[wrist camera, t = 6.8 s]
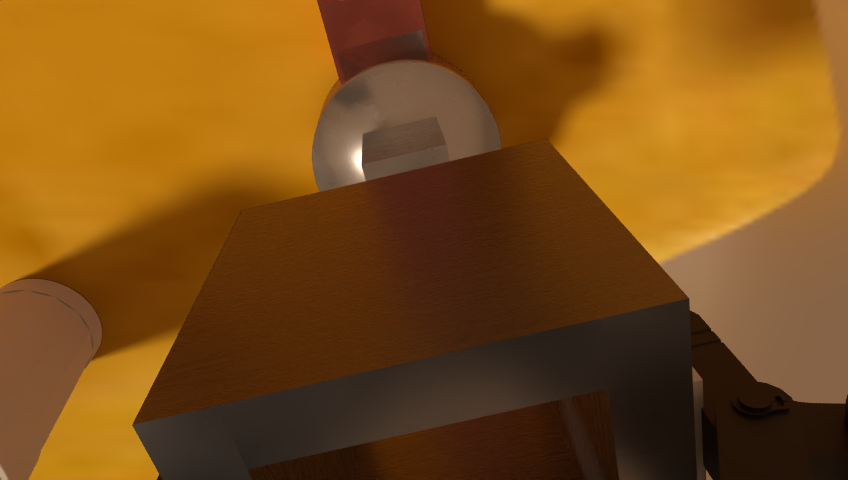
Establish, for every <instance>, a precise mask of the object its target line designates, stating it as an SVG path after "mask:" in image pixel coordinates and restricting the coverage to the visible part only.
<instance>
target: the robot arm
mask: <svg viewBox="0 0 848 480" xmlns="http://www.w3.org/2000/svg"><path fill="white" fill-rule="evenodd" d="M690 330H691V352H692V374H693V397H694V419H695V441H696V464H697V480H706V470H707V471H708V473H709V475H710V476H711V478H712V479H713V480H848V395H847V399H846V404H829V403H828V404H827V403H826V404H825V403H805V402H797V401H793V400H792V398H791V397H790V396H789V395H787V394H786V393H785V392H784V391H783V390H781V389H779V388H777V387H775V386H772V385H770V384H767V383H762V382H757V381H756V380H755V379H754V377H753V376H752V375H751V374H750V373H749V372H748V370H747V369H746V368H745V367H744V366H743V365H742V364H741V362H740V361H739V360H738V359H737V358H736V357H735V356H734V354H733V353H732V352H731V351H730V350H729V349H728V348H727V347H726V346H725V344H724V343H721V340H720V339H719V338H718V336H717V335H716V334H715V333H714V332H712V331H711V328H710V327H709V326H708V325H707V324H706V323H705V321H704V320H703V319H702V318H701V317H700V316H699V315H698V314H696V313H694V312H692V311H690ZM157 480H162V478H161V476H160V474H159V476H158V479H157Z"/></svg>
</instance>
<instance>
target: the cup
mask: <svg viewBox="0 0 848 480" xmlns="http://www.w3.org/2000/svg"><path fill="white" fill-rule="evenodd" d="M101 340H102V327H101V323H100V320H99V317H98V315H97V313H96V312H95V310H94V308H93V307H92V306H91V305H90V303H89V302H88V301H87V300H86V299H85V298H83V297H82V296H81V295H80V294H78V293H77V292H75V291H74V290H72V289H70V288H69V287H66V286H64V285H62V284H59V283H56V282H53V281H49V280H43V279H23V280H18V281H14V282H11V283H9V284H7V285H5V286H3V287H2V288H0V480H28V479H29V477H30V475H31V473H32V471H33V469H34V467H35V465H36V463H37V461H38V459H39V456H40V452H41V449H42V448H43V446H44V444H45V442H46V440H47V438H48V436H49V434H50V432H51V431H52V429H53V427H54V425H55V423H56V421H57V419H58V417H59V416H60V414H61V412H62V410H63V408H64V406H65V404H66V402H67V401H68V399H69V397H70V395H71V393H72V391H73V389H74V387H75V385H76V384H77V382H78V380H79V378H80V376H81V374H82V372H83V370H84V369H85V368H86V367H87V365H88V364H89V362H90V361H91V359H92V358H93V356H94V355H95V353H96V352H97V350H98V349H99V346H100V344H101Z"/></svg>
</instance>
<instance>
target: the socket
mask: <svg viewBox="0 0 848 480" xmlns="http://www.w3.org/2000/svg"><path fill="white" fill-rule="evenodd" d="M689 309H690V308H689V298H688V297H687V296H686V294H685V293H684V292H683V291H682V290H681V289H680V288H679V287H678V285H677V284H676V283H675V282H674V281H673V280H672V279H671V278H670V276H669V275H668V274H667V273H666V272H665V271H664V270H663V269H662V267H661V266H660V265H659V264H658V263H657V262H656V261H655V260H654V259H653V257H652V256H651V255H650V254H649V253H648V252H647V251H646V250H645V248H644V247H643V246H642V245H641V244H640V243H639V242H638V241H637V240H636V238H635V237H634V236H633V235H632V234H631V233H630V232H629V231H628V229H627V228H626V227H625V226H624V225H623V224H622V223H621V222H620V221H619V219H618V218H617V217H616V216H615V215H614V214H613V213H612V212H611V210H610V209H609V208H608V207H607V206H606V205H605V204H604V203H603V202H602V200H601V199H600V198H599V197H598V196H597V195H596V194H595V193H594V191H593V190H592V189H591V188H590V187H589V186H588V185H587V184H586V183H585V181H584V180H583V179H582V178H581V177H580V176H579V175H578V174H577V172H576V171H575V170H574V169H573V168H572V167H571V166H570V165H569V164H568V162H567V161H566V160H565V159H564V158H563V157H562V156H561V155H560V153H559V152H558V151H557V150H556V149H555V148H554V147H553V146H552V145H551V143H550V142H549V141H548V140H547V139H542V140H537V141H533V142H529V143H525V144H521V145H516V146H512V147H508V148H504V149H499V150H495V151H491V152H487V153H483V154H478V155H474V156H470V157H466V158H461V159H457V160H453V161H449V162H445V163H440V164H436V165H432V166H428V167H423V168H419V169H415V170H411V171H406V172H402V173H398V174H394V175H390V176H385V177H381V178H377V179H373V180H368V181H364V182H360V183H356V184H352V185H347V186H343V187H339V188H335V189H330V190H326V191H322V192H318V193H314V194H309V195H305V196H301V197H297V198H292V199H288V200H284V201H280V202H276V203H271V204H267V205H263V206H259V207H254V208H250V209H246V210H242V211H241V212H240V214H239V216H238V218H237V220H236V222H235V224H234V226H233V228H232V230H231V232H230V234H229V236H228V238H227V240H226V241H225V243H224V245H223V247H222V249H221V251H220V253H219V255H218V257H217V259H216V261H215V263H214V265H213V267H212V269H211V271H210V273H209V275H208V277H207V279H206V281H205V283H204V285H203V287H202V289H201V291H200V293H199V295H198V297H197V299H196V301H195V302H194V304H193V306H192V308H191V310H190V312H189V314H188V316H187V318H186V320H185V322H184V324H183V326H182V328H181V330H180V332H179V334H178V336H177V338H176V340H175V342H174V344H173V346H172V348H171V350H170V352H169V354H168V356H167V358H166V360H165V362H164V363H163V365H162V367H161V369H160V371H159V373H158V375H157V377H156V379H155V381H154V383H153V385H152V387H151V389H150V391H149V393H148V395H147V397H146V399H145V401H144V403H143V405H142V407H141V409H140V411H139V413H138V415H137V417H136V419H135V421H134V423H133V424H132V425H133V427H134V429H135V431H136V433H137V434H138V436H139V438H140V440H141V442H142V443H143V445H144V447H145V449H146V451H147V452H148V454H149V456H150V458H151V460H152V461H153V463H154V465H155V467H156V469H157V471H158V472H159V474H160V476H161V478H162V480H697V464H696V441H695V419H694V397H693V374H692V352H691V330H690V310H689Z"/></svg>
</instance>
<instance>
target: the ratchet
mask: <svg viewBox="0 0 848 480" xmlns="http://www.w3.org/2000/svg"><path fill="white" fill-rule="evenodd" d="M317 2H318V5H319V9H320V12H321V16H322V19H323V23H324V27H325V30H326V34H327V37H328V41H329V44H330V48H331V51H332V55H333V59H334V62H335V66H336V69H337V73H338V76H339V80H338V81H337V82H336V83H335V84H334V86H333V87H332V89H331V90H330V92H329V94H328V96H327V98H326V100H325V102H324V105H323V108H322V111H321V115H320V118H319V121H318V125H317V128H316V132H315V135H314V141H313V147H312V162H313V171H314V175H315V179H316V183H317V185H318V188H319V191H320V192H322V191H326V190H330V189H335V188H339V187H343V186H347V185H352V184H356V183H360V182H364V181H368V180H373V179H377V178H381V177H385V176H390V175H394V174H398V173H402V172H406V171H411V170H415V169H419V168H423V167H428V166H432V165H436V164H440V163H445V162H449V161H453V160H457V159H461V158H466V157H470V156H474V155H478V154H483V153H487V152H491V151H495V150H499V149H502V148H501V139H500V134H499V130H498V126H497V124H496V121H495V119H494V116H493V114H492V112H491V111H490V109H489V107H488V105H487V104H486V102H485V101H484V100H483V98H482V97H481V96H480V94H479V93H478V91H477V90H476V89H475V87H474V86H473V85H472V83H471V82H470V81H469V79H468V78H467V77H466V76H465V75H464V74H463V73H462V72H461V71H460V70H459V69H457V68H456V67H455V66H453V65H452V64H451V63H449V62H447V61H446V60H444V59H442V58H440V57H438V56H435V55H432V53H431V49H430V44H429V39H428V35H427V30H426V25H425V21H424V16H423V11H422V6H421V2H420V0H317Z"/></svg>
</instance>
